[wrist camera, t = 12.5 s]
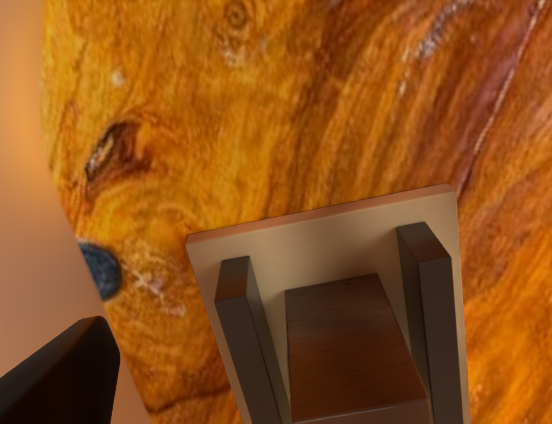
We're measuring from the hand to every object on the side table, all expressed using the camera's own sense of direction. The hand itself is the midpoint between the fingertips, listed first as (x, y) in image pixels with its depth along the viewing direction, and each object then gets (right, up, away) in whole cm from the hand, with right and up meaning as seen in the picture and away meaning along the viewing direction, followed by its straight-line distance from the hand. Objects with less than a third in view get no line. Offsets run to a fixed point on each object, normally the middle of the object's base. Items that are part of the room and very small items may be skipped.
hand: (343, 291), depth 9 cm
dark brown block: (+2, -5, +12) cm, 13 cm away
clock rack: (+2, -4, +13) cm, 14 cm away
